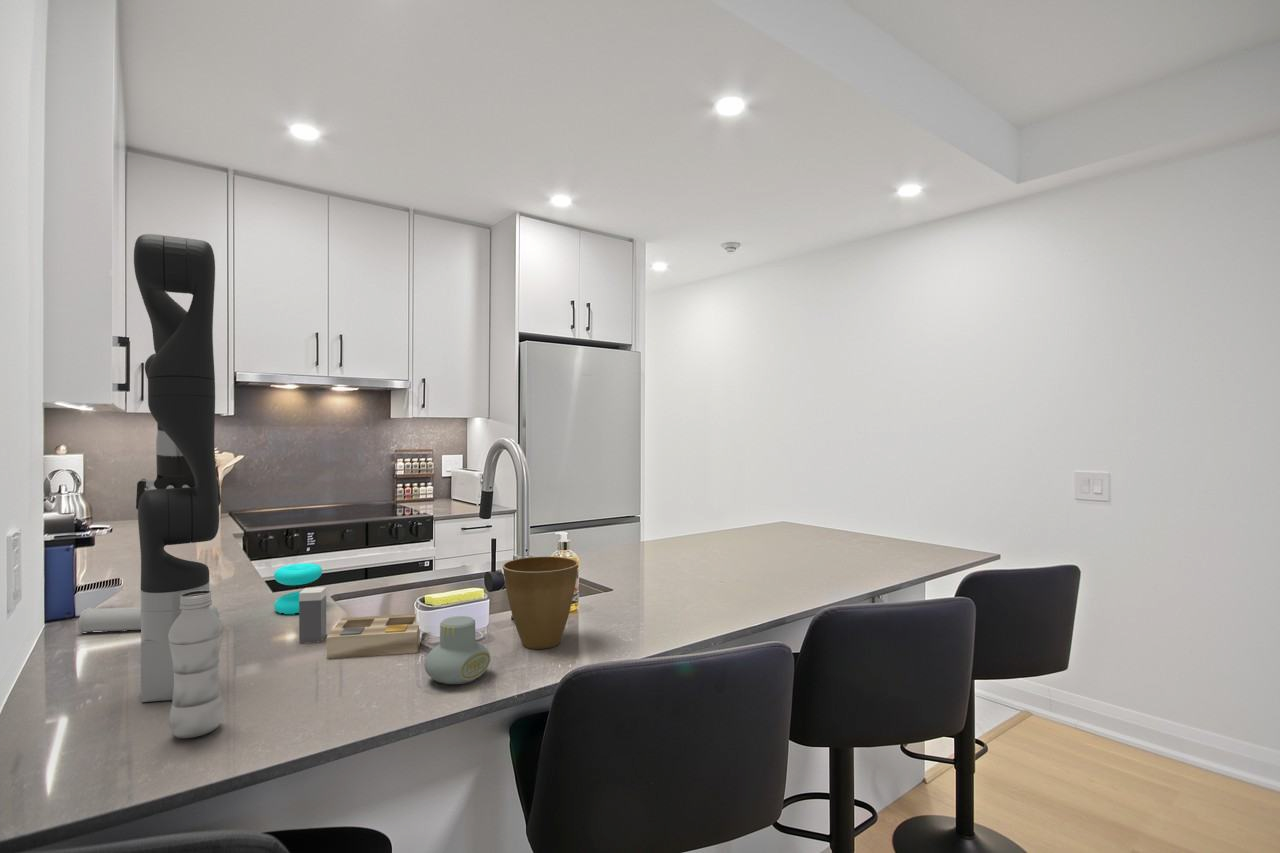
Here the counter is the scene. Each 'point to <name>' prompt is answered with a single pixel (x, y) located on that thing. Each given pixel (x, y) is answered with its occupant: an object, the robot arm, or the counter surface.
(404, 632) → the socket block
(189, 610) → the plastic bottle
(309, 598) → the plug
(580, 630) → the counter surface
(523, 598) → the plant pot
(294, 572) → the donuts
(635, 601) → the counter surface
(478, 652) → the air freshener
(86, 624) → the tube
